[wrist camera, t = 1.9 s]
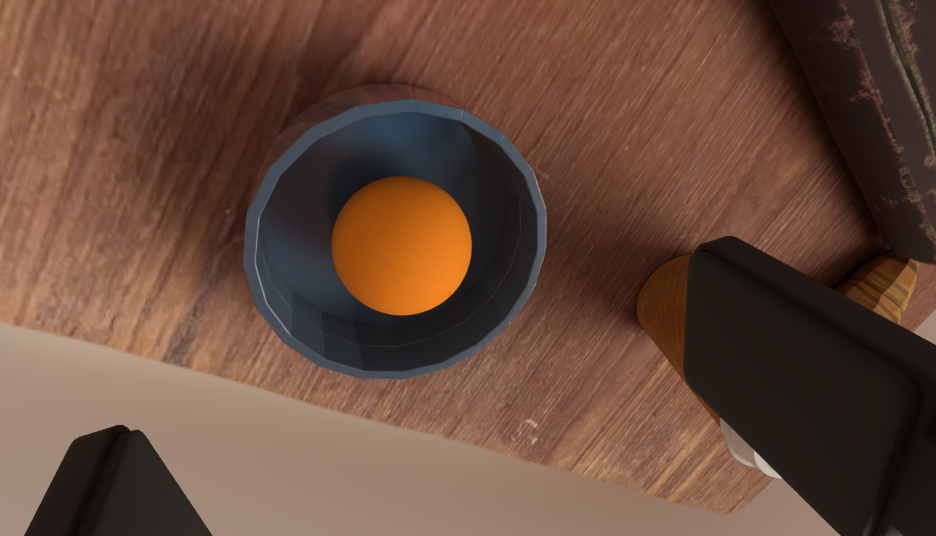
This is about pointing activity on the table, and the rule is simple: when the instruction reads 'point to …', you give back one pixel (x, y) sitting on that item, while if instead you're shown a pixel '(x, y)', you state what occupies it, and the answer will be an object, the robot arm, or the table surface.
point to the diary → (877, 104)
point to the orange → (401, 245)
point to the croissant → (883, 284)
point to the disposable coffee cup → (666, 326)
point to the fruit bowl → (353, 167)
